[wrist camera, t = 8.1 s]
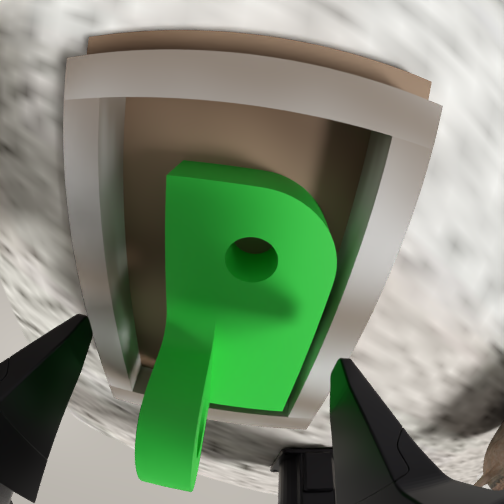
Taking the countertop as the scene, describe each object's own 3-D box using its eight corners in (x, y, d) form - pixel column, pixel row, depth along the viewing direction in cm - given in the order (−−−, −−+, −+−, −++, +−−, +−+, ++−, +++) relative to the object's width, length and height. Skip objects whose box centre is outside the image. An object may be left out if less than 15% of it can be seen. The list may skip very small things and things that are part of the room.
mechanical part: (282, 383, 17) (280, 511, 10) (181, 369, 17) (149, 493, 10) (344, 184, 11) (440, 349, 4) (183, 160, 11) (53, 294, 4)
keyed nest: (307, 399, 19) (309, 436, 17) (123, 370, 19) (110, 403, 16) (420, 81, 9) (459, 83, 7) (101, 39, 9) (59, 33, 6)
